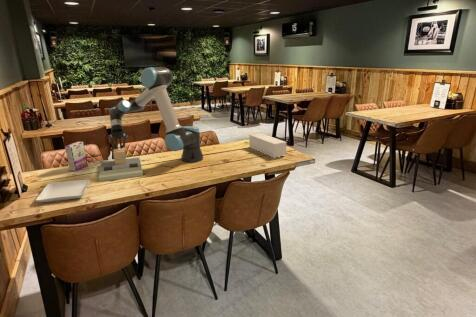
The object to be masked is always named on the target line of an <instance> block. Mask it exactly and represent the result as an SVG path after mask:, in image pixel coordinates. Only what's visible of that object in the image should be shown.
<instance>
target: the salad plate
mask: <svg viewBox="0 0 476 317" xmlns="http://www.w3.org/2000/svg"><path fill="white" fill-rule="evenodd" d="M90 182H91V179H78V180H68V181H58V182H49V183H47V184H46V186H45V187H44V188H43V190H42V191H41V192H40V194H39V195H38V196H37V197H36V198H35V202H38V203H51V202H59V201H68V200H69V201H70V200H75V199H80V198H82V197H83V196H84V195H85V194H86V190H87V188H88V186H89V184H90Z"/></svg>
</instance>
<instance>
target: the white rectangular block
mask: <svg viewBox="0 0 476 317" xmlns="http://www.w3.org/2000/svg"><path fill="white" fill-rule="evenodd" d="M248 138H249V140H248V145H249V147H250V148H249V147H248V148H249V149H251V148H252V149H251V150H253V149H255V150H254V151H256V150H257V151H256V152H258V151H260V152H262V153H261V154H263V153H264V154H263V155H265V154H267V155H269V156H271V157H270V158H272V157H273V158H272V159H277V158H276V157H279V156H283V155H286V156H287V141H285V140H282V139H279V138H276V137H273V136H270V135H267V134H265V133H262V132H258V133H252V134H249V135H248ZM260 152H259V153H260ZM267 155H266V156H267ZM269 156H268V157H269ZM279 158H280V157H279Z"/></svg>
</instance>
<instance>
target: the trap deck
mask: <svg viewBox="0 0 476 317" xmlns="http://www.w3.org/2000/svg"><path fill="white" fill-rule="evenodd" d="M143 176H144V172H143V167H142V162H141V159H140V157H132V158H131V157H130V158H126V163H124V164H116V165H115V161H114V159H113V160H106V161H105V160H104V161H101V162H100V167H99V175H98V180H99V181H98V182H106V181H107V182H108V181H113V180H114V181H115V180H122V179H130V178H137V177H143Z"/></svg>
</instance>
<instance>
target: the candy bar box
mask: <svg viewBox="0 0 476 317" xmlns="http://www.w3.org/2000/svg"><path fill="white" fill-rule="evenodd" d="M85 148H86V147H85V144H84V141H76V142H73V143H70V144H68V145H65V146H64V149H65V153H66V154H65V155H66V158H67V162H68V167H69V171H70V172H78V171H80V170H82V169H84V168H86V167H88V160H87V153H86V149H85Z"/></svg>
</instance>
